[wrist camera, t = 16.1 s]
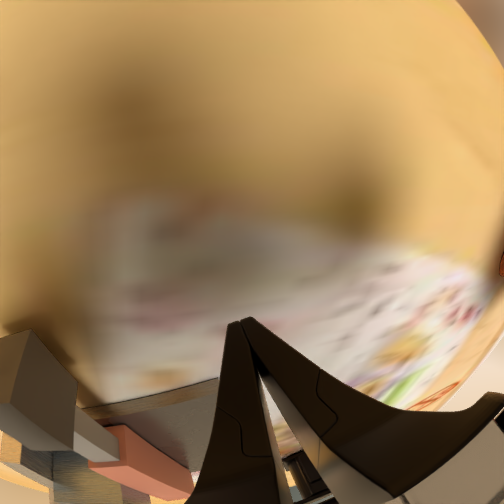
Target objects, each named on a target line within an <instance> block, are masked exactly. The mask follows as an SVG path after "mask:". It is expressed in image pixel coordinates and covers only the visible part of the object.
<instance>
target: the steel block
mask: <svg viewBox="0 0 504 504" xmlns="http://www.w3.org/2000/svg"><path fill="white" fill-rule="evenodd" d="M53 490H54V502H57V503H59V504H151V502H150V497H149V495H148V494H146V493H143V492H140V491H138V490H135V489H133V488H130V487H128V486H125V485H123V484H121V483H118V482H116V481H114V480H112V479H110V478H107V477H105V476H103V475H101V474H99V473H97V472H95V471H93V470H91V469H89V468H88V459H87V458H85V457H84V456H82V455H80V454H79V453H77V452H54V453H53Z"/></svg>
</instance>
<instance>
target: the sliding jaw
mask: <svg viewBox="0 0 504 504" xmlns="http://www.w3.org/2000/svg"><path fill="white" fill-rule="evenodd" d="M77 386H78V382H77V381H76V380H75V379H74V378H73V377H72V376H71V375H70V374H69V373H68V371H67V370H66V369H65V368H64V367H63V366H62V365H61V364H60V363H59V362H58V360H57V359H56V358H55V357H54V356H53V355H52V354H51V352H50V351H49V350H48V349H47V348H46V346H45V345H44V344H43V343H42V342H41V340H40V339H39V338H38V337H37V335H36V334H35V333H34V331H33V330H32V329H28V330H25V331H22V332H19V333H16V334H12V335H9V336H6V337H2V338H0V429H2V430H3V431H4V432H6V433H7V434H8V435H10V436H11V437H12V438H14V439H15V440H17V441H18V442H20V443H21V444H23V445H24V446H26V447H27V448H29V449H30V450H37V451H67V450H74V451H75V452H77V453H79V454H80V455H82V456H84V457H85V458H87V459H88V468H89V469H91V470H93V471H95V472H97V473H99V474H101V475H103V476H105V477H107V478H110V479H112V480H114V481H116V482H118V483H121V484H123V485H125V486H128V487H130V488H133V489H135V490H138V491H140V492H143V493H146V494H148V495H151V496H154V497H157V498H160V499H163V500H166V501H172V500H180V499H186V498H189V497H190V495H191V494H192V492H193V490H194V484H193V480H192V476H191V472H190V470H188V469H187V468H185V467H183V466H182V465H180V464H179V463H177V462H175V461H174V460H172V459H171V458H169V457H168V456H166V455H165V454H163V453H162V452H160V451H159V450H157V449H156V448H155V447H153V446H152V445H150V444H149V443H148V442H146V441H145V440H144V439H142V438H141V437H140V436H138V435H137V434H136V433H134V432H133V431H132V430H131V429H129V428H128V427H127V426H126V425H118V426H111V427H104V428H103V427H102V426H101V425H99V424H98V423H97V422H96V421H94V420H93V419H92V418H91V417H89V416H88V415H87V414H86V413H85V412H83V411H82V410H81V409H80V408H79V407H78V406H76V395H77Z"/></svg>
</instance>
